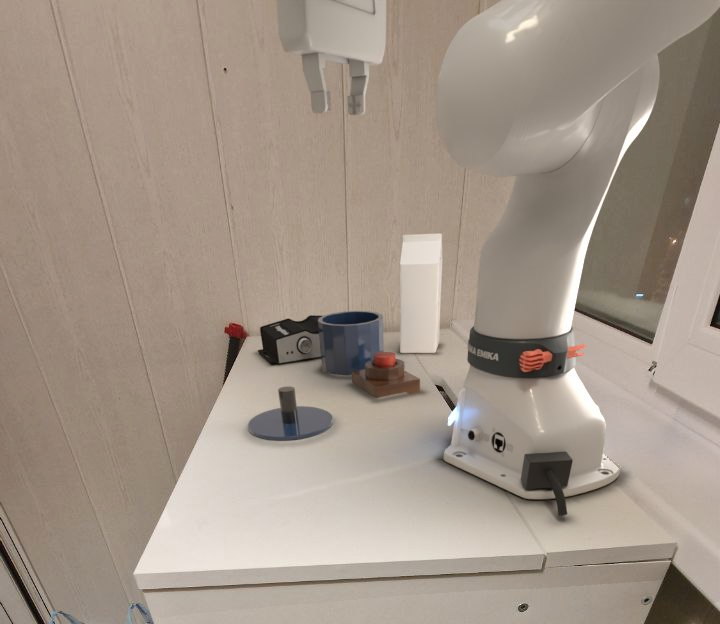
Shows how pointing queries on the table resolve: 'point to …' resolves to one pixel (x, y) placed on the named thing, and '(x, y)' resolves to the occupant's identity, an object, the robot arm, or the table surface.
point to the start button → (384, 359)
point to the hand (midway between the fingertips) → (340, 114)
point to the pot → (349, 340)
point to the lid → (290, 419)
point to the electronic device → (291, 340)
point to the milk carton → (420, 293)
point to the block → (386, 379)
